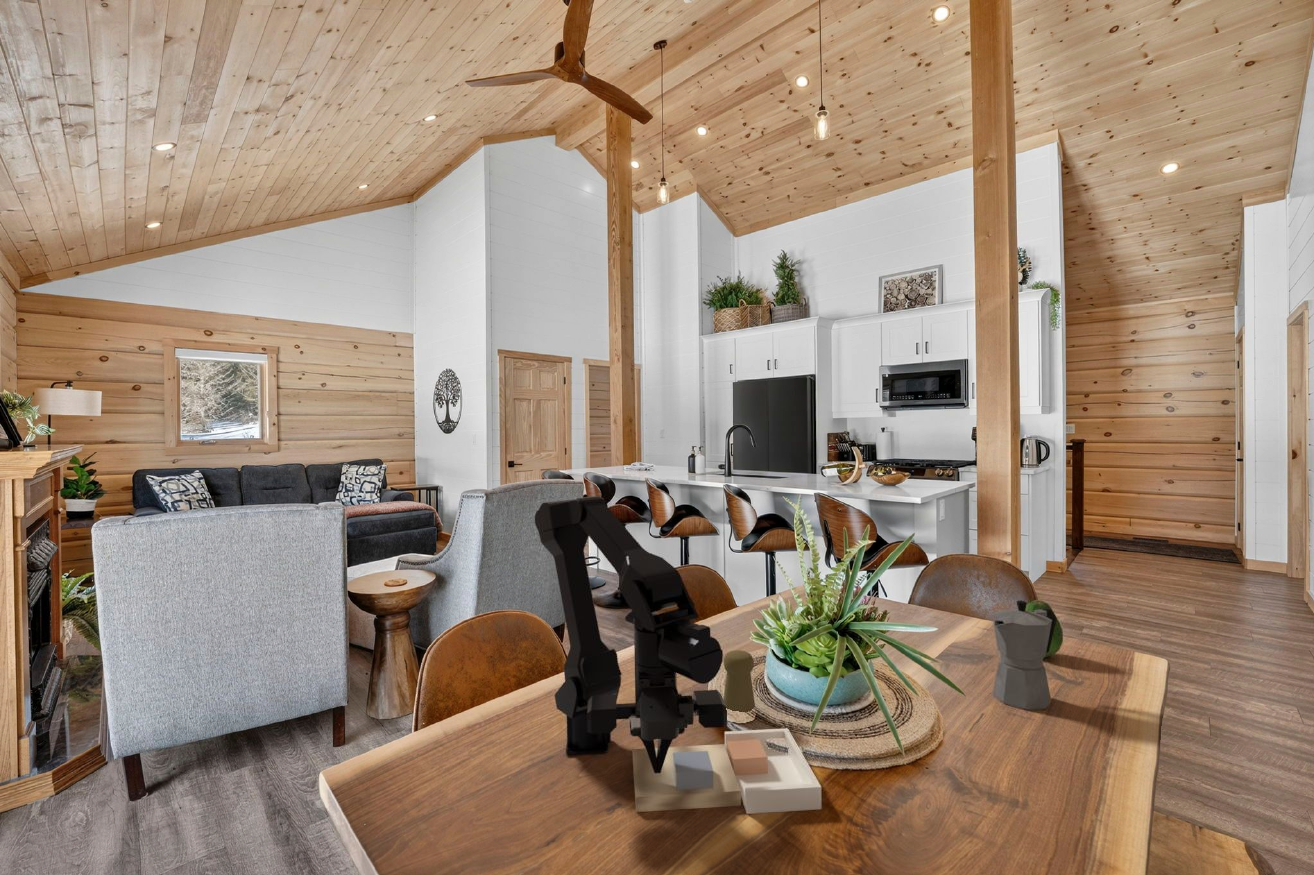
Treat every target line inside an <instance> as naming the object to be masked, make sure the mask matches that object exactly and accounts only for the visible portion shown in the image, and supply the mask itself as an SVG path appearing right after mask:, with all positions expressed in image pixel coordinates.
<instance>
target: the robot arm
mask: <svg viewBox="0 0 1314 875" xmlns="http://www.w3.org/2000/svg"><path fill="white" fill-rule="evenodd" d="M608 505H609V504H608V502H607V500H606V499H605V498H604V497H603V496H602V497H600V496H597V495H595V496H586V497H585V496H584V497H578V498H575V499H566V500H565V499H564V500H555V501H546V502H542V504H540V506H539V508H538V510H536V511H535V514H534V524H535V527H536V530H537V531H538V536H539V539H540V542H541V544H542V546H544V548H546V550H547V551H548V552H549V554H550V555H552V557H553V560H554V563H555V569H556V570H555V571H556V575H557V581H558V586H559V592H560V597H561V602H562V608H563V613H564V620H565V625H566V629H567V636H568V640H569V651H568V653H567V656H566V660H565V662H564V666H563V672H564V682H563V683H562V684H561V686H560V687H559V689H558V690H557V691H556V692H555V693H554V700H555V705H556V710H559V711H560V712H561V713H563V715H565V716H566V746H565V747H566V748H565V754H566V755H569V756H570V755H584V754H605V753H608V751H609V744H610V743H611V742H612V737H611V736H612V732H613V731H614V730H616V728H617V726H618V724H617V722H618V721H617V720H628V722H629V730H630V731H629V733H630V736H631V737H638V738H639V739H640V740H641V742H642V745H643V746H644V748H646V750H647V753H648V756H649V759H650V762H651V764H652V767H653V770H654V773H661V770H662V767H663V764H664V761H665V758H666V755H667V752H668V749H669V747H671V744H672V743H673V740H675V739H677V738H678V737H679V735H682V734H684V733H685V732H686V729H688V726H690V725H694V723H695V722H694V719H695V718H694V717H696V716H697V721H698V723H699V724H700V725H701V727H703V728H704V729H708V728H709V729H710V728H724V727H726V726H728V721H727V710H726V705H725V703H724V700H723V699H724V697H723V695H722V694H721V692H720V691H718V689H705V690H704V689H703V690H693V692H692V695H691V694H690V695H683V694H682V693H679V690H678V688H677V687H678V686H677V684H678V680H677V678H678V677H677V675H680V676H683V677H685V678H687V679H689V680H691V681H693V682H695V683H697V684H700V685H703V684H705V685H706V684H708V683H710V682H711V681H712V680H714V678H716V677H717V675H718V674H719V671H720V669H721V667H722V665H723V664H722V663H723V660H724V652H723V649H722V647H721V644H720V642H719V641H718V640H717V639H716V638H715V637H713V636H712V635H711V628H710V626H709V625H705V624H698V623H696V622H692V621H693V620H696V619H698V618H699V613H698V612H697V610H696V607H695V605H696V604H695V602H694V601H693V600H692V598H691V597H690V594H689V592H688V589H687V588H686V585H685V583H684V581H683V577H682V576H681V574H680V572H679V571H678V570H677V568H675V567H674V566H673V565H671V564H670V563H669V562H668V561H667V560H666V559H664V557H661V556H659V555H656V554H653V553H651V552H649V551H648V550H646V549H645V548H644V547H643V546H642V545H641V544H640V543H639V542H638V541H637V540H636V538H635V537H634V536H633V535H632V533H630V532H629V530H628V529H627V528H626V527H625V526H624V525H623V523H622V522H621V521H620V520H619V519H618V518H617V516H616V515H615V514H614V513H613V512H612V511H611V509H610V508H609V506H608ZM588 538H590V540H591V541H592V542H593V544H595V546H596V547H597V549H599V551H600V553H601V554H602V555H603V556H604V557H605V558H606V560H607V561H608V562H609V564H610V565H611V566H612V567H613V568H614V570H615V572H616V574H617V575H618V583H619V584H618V590H619V592H620V593H621V594H622V596H623V598H624V600H625V602H626V604H627V605H628V607H629V608H630V610H631V611H629V613H627V614H626V615H625V617H624V619H625V621H626V622H628V623H629V624H632V625H633V638H634V641H633V643H634V690H635V691H634V695H635V696H634V698H635V701H634V702H632V703H617V701H618V696H619V692H620V688H621V686H622V675H623V674H622V671H621V669H620V666H619V658H618V653H617V652H616V650H615V648H613V649H610V648H609V647H608V646H607V645H606V644H605V643H604V641H602V637H601V632H600V627H599V623H598V617H597V611H596V607H595V602H594V597H593V591H592V587H591V586H592V585H591V581H590V578H589V576H590V575H589V571H588V565H587V561H586V555H585V547H586V545H587V542H588ZM674 607H677V608H676V609H673V610H669V611H665V612H662V613H659V612H658V611H663V610H667V609H670V608H674ZM655 740H657V747H656V744H655ZM655 748H657V757H656V750H655Z"/></svg>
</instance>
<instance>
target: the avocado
mask: <svg viewBox="0 0 1314 875" xmlns="http://www.w3.org/2000/svg"><path fill="white" fill-rule="evenodd" d="M1039 609H1040V610H1043V609H1051V610H1052V612H1053V613H1054V614H1055V612H1054V610H1053V609H1052V607H1051V606H1050V604H1048V603H1047V602H1046V601H1043V600H1039V599H1034V600H1032V601H1031V602H1029V603H1027V605H1026V610H1025V611H1030V612H1034V610H1039ZM1055 616H1056V618H1057V621H1056V625H1055V629H1054V633H1053V638H1052V642H1051V645H1050V650H1049V652H1048V653H1046V655H1045V657H1044V658H1047V657H1051V656H1053V655H1056V653H1058V652H1059V650H1060V649H1061V647H1062V645H1063V642H1064V639H1063V638H1064V636H1063V635H1064V632H1063V629H1062V625H1061V623H1060V621H1059V619H1058V617H1057V615H1056V614H1055Z"/></svg>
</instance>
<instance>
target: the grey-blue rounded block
mask: <svg viewBox="0 0 1314 875" xmlns="http://www.w3.org/2000/svg"><path fill="white" fill-rule="evenodd" d="M673 773H674V779H675V784H676V790H691V789H709V788H713V768H712V764H711V761H710V757H709V754H708V751H698V752H678V753H673Z"/></svg>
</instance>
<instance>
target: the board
mask: <svg viewBox="0 0 1314 875" xmlns="http://www.w3.org/2000/svg"><path fill="white" fill-rule="evenodd" d="M655 750H656V757H657V747H655ZM698 751H708V754H709V757H710V761H711V764H712V768H713V788H709V789H691V790H676V784H675V779H674V773H673V753H678V752H698ZM632 772H633V788H634V800H635V801H634V803H635V804H634V805H635V813H642V812H644V813H645V812H658V811H659V812H660V811H674V810H675V811H676V810H677V811H678V810H691V809H707V808H724V807H741V804H742V803H741V802H742V799H741V790H740V788H739V785H738V782H737V779H736V776H735V773H734V771H733V768H732V765H731V762H730V759H729V756H728V753H727V751H726V748H725V743H722V744H721V743H720V744H705V745H704V744H703V745H702V744H701V745H686V746H685V745H683V746H669V749H668V752H667V755H666V758H665V761H664V764H663V767H662V770H661V773H654V770H653V767H652V764H651V762H650V759H649V756H648V753H647V750H646V748H645V747H644V748H632Z"/></svg>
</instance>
